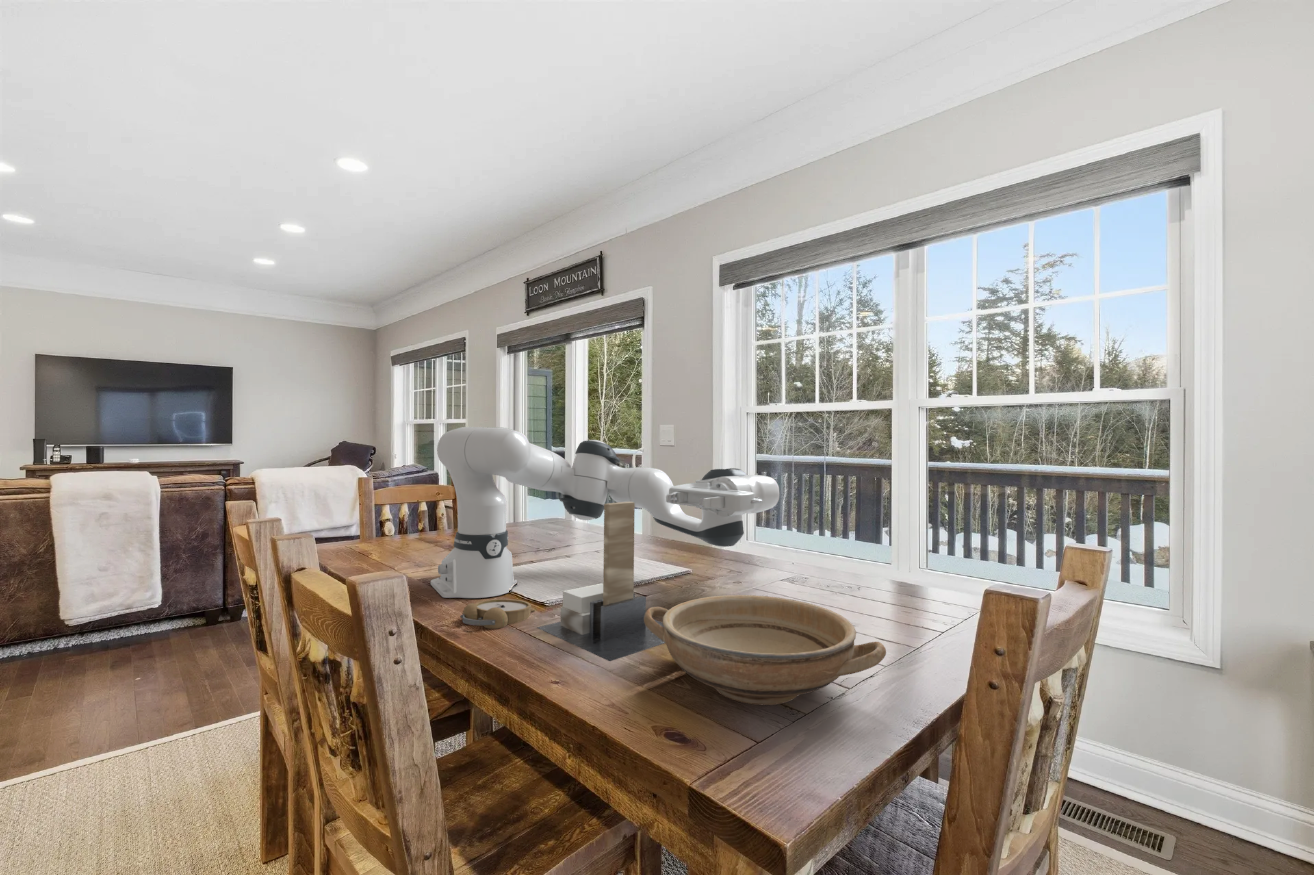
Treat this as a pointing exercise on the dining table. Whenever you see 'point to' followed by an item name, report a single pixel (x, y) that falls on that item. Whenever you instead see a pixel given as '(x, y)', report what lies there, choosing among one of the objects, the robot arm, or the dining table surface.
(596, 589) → the offcut upper
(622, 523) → the birch board
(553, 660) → the dining table surface
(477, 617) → the alarm clock
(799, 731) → the dining table surface
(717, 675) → the ceramic bowl
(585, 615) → the offcut lower
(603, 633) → the slot rack
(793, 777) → the dining table surface
